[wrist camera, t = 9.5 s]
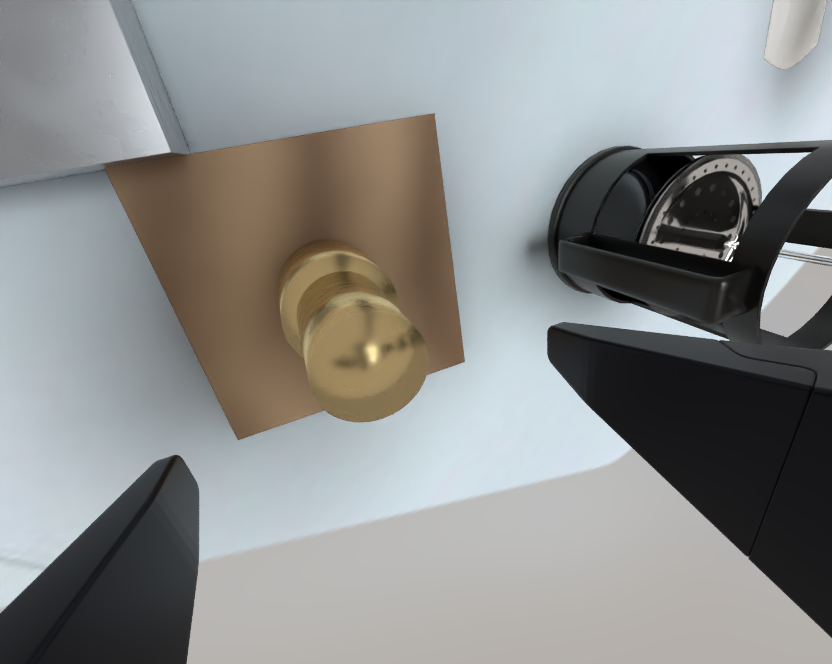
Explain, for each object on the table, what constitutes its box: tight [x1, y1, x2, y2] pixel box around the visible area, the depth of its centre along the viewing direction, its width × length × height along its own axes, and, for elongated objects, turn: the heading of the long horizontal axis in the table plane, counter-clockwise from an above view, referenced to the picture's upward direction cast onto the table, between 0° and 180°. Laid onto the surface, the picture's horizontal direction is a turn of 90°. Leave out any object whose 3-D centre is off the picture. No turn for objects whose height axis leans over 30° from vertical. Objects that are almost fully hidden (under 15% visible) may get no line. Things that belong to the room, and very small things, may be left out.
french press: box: [548, 140, 832, 350], centre depth 15 cm, size 12×9×23 cm
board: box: [104, 114, 465, 440], centre depth 20 cm, size 14×14×1 cm
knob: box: [278, 239, 429, 422], centre depth 16 cm, size 5×5×9 cm
